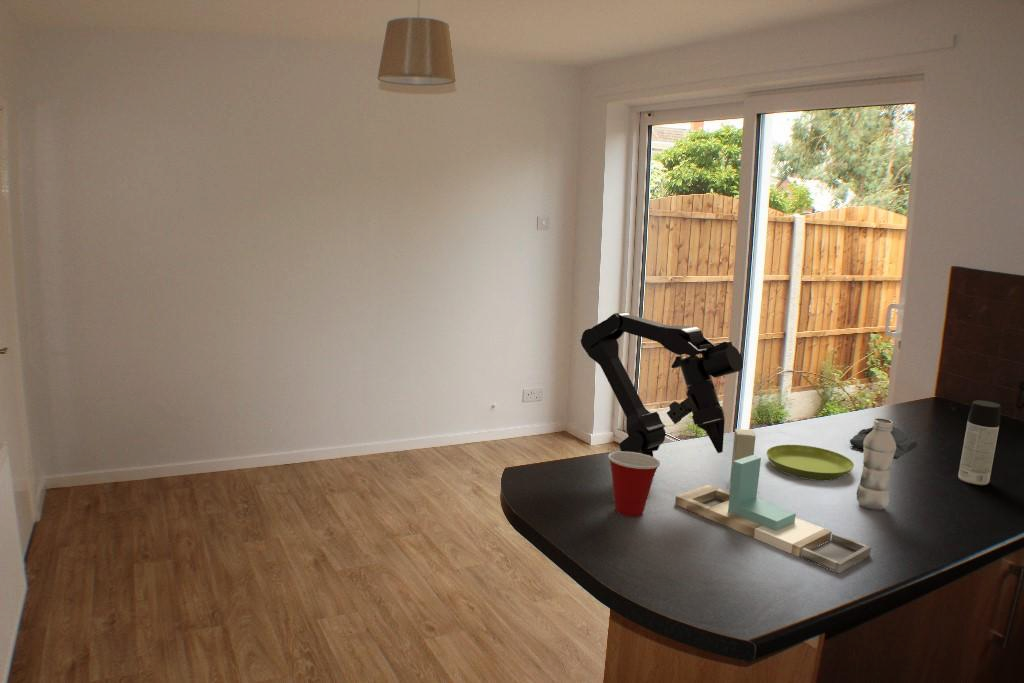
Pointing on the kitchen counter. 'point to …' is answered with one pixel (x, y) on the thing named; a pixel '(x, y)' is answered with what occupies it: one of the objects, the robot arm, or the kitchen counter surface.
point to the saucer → (809, 462)
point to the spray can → (980, 442)
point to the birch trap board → (715, 507)
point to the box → (743, 445)
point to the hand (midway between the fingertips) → (720, 452)
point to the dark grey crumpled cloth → (900, 438)
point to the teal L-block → (754, 497)
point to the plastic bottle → (877, 466)
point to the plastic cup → (631, 480)
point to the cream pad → (786, 534)
